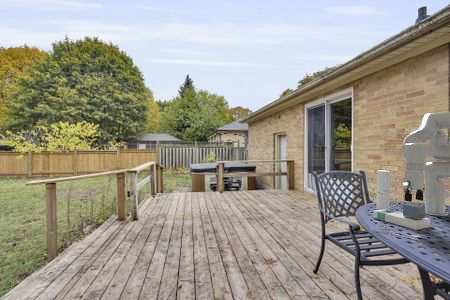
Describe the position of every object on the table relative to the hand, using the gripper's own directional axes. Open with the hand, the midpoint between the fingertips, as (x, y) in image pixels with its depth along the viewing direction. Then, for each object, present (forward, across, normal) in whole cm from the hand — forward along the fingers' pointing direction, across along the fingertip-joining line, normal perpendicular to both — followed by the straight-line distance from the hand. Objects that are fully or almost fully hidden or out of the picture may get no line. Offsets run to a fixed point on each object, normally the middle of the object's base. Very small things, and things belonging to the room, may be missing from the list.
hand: (413, 200), depth 127 cm
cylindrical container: (+13, -19, -28) cm, 36 cm away
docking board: (+13, -1, -7) cm, 15 cm away
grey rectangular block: (+13, -1, 0) cm, 13 cm away
